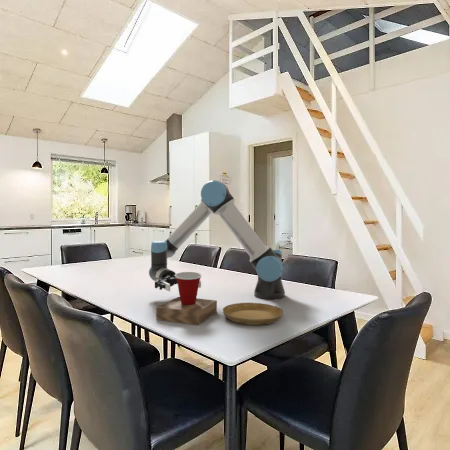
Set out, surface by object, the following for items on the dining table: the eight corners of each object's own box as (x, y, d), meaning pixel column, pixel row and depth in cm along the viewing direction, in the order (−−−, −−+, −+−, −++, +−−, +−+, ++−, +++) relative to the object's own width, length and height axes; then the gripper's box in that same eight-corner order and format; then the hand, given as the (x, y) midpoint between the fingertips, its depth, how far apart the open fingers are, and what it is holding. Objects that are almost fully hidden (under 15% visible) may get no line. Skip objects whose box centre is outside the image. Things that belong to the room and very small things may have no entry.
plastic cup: (177, 308, 141) (176, 277, 140) (173, 301, 151) (173, 272, 151) (204, 306, 144) (204, 275, 143) (198, 299, 154) (198, 271, 154)
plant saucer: (277, 309, 158) (277, 302, 158) (288, 327, 134) (288, 318, 134) (221, 309, 158) (221, 302, 158) (223, 328, 134) (223, 319, 133)
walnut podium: (216, 312, 153) (216, 300, 153) (198, 325, 136) (198, 311, 136) (178, 307, 159) (178, 296, 159) (156, 319, 143) (156, 306, 142)
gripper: (191, 282, 173) (212, 291, 155) (139, 288, 161) (155, 298, 142) (191, 267, 173) (212, 274, 155) (139, 271, 161) (155, 279, 142)
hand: (185, 286), depth 148 cm, fingers open, 13 cm apart
